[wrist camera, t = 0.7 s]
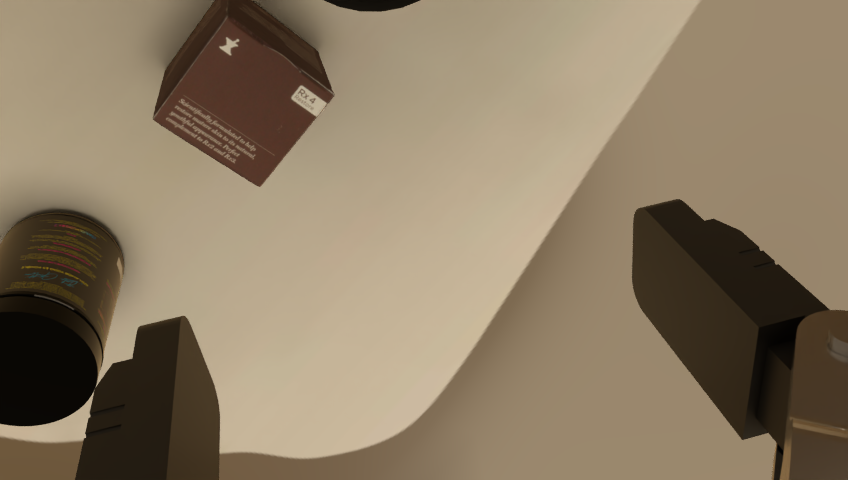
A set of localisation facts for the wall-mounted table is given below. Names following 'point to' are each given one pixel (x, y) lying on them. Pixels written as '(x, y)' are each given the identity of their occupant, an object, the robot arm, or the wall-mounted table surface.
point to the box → (243, 89)
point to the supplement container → (54, 315)
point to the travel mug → (372, 4)
